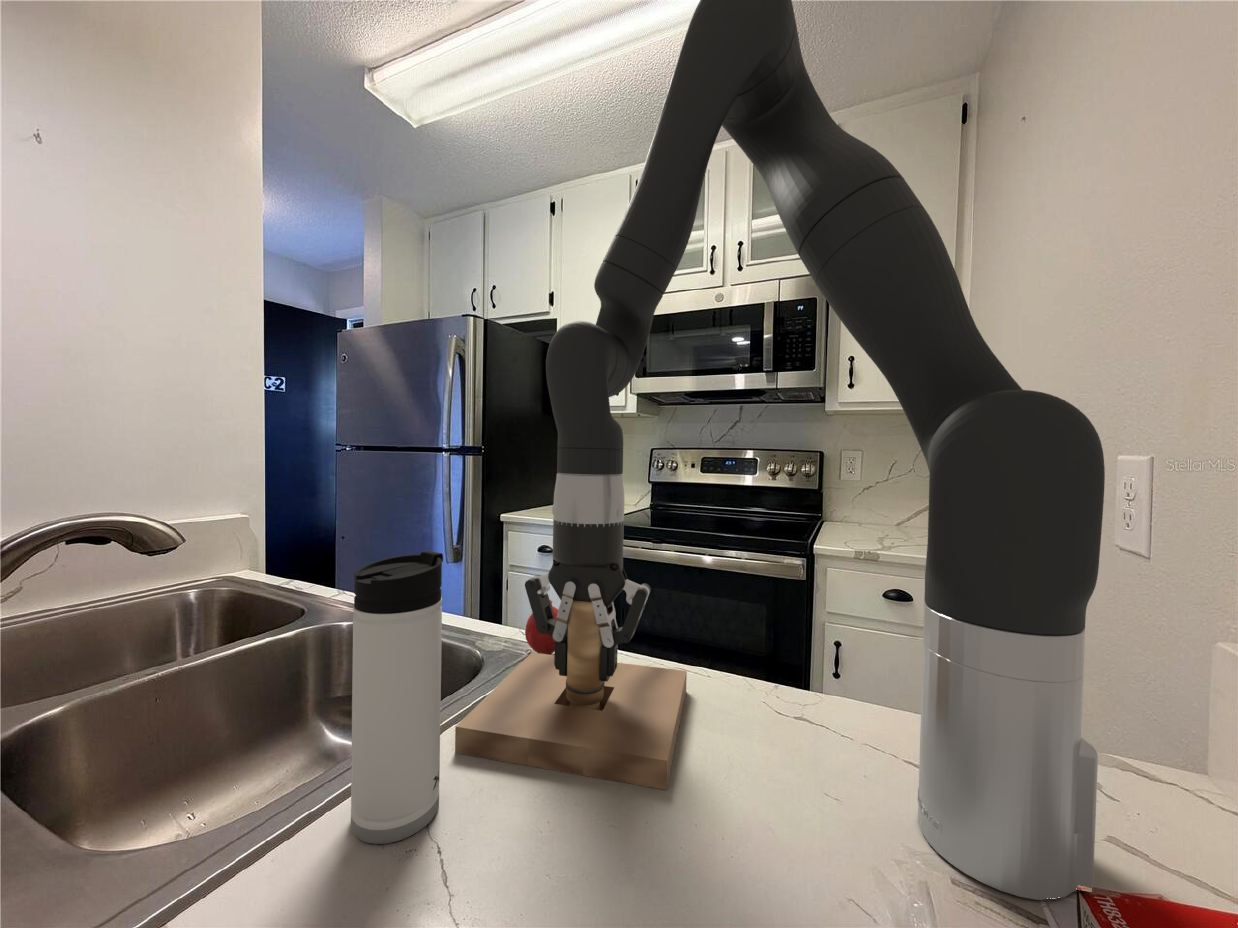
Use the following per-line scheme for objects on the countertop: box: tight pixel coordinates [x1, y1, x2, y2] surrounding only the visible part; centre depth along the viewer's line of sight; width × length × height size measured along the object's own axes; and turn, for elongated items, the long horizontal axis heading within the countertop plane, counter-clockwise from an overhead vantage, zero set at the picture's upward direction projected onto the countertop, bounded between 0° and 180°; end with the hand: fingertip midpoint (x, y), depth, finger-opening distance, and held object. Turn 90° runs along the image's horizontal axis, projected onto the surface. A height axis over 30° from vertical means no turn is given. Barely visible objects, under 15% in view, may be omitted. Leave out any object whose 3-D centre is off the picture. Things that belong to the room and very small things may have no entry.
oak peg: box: [566, 601, 605, 710], centre depth 52 cm, size 4×4×12 cm
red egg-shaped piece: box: [524, 598, 559, 655], centre depth 68 cm, size 6×6×8 cm
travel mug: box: [350, 550, 444, 845], centre depth 38 cm, size 6×7×20 cm
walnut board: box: [454, 652, 688, 791], centre depth 53 cm, size 20×18×2 cm
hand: (585, 674), depth 53 cm, fingers closed on oak peg, 4 cm apart
